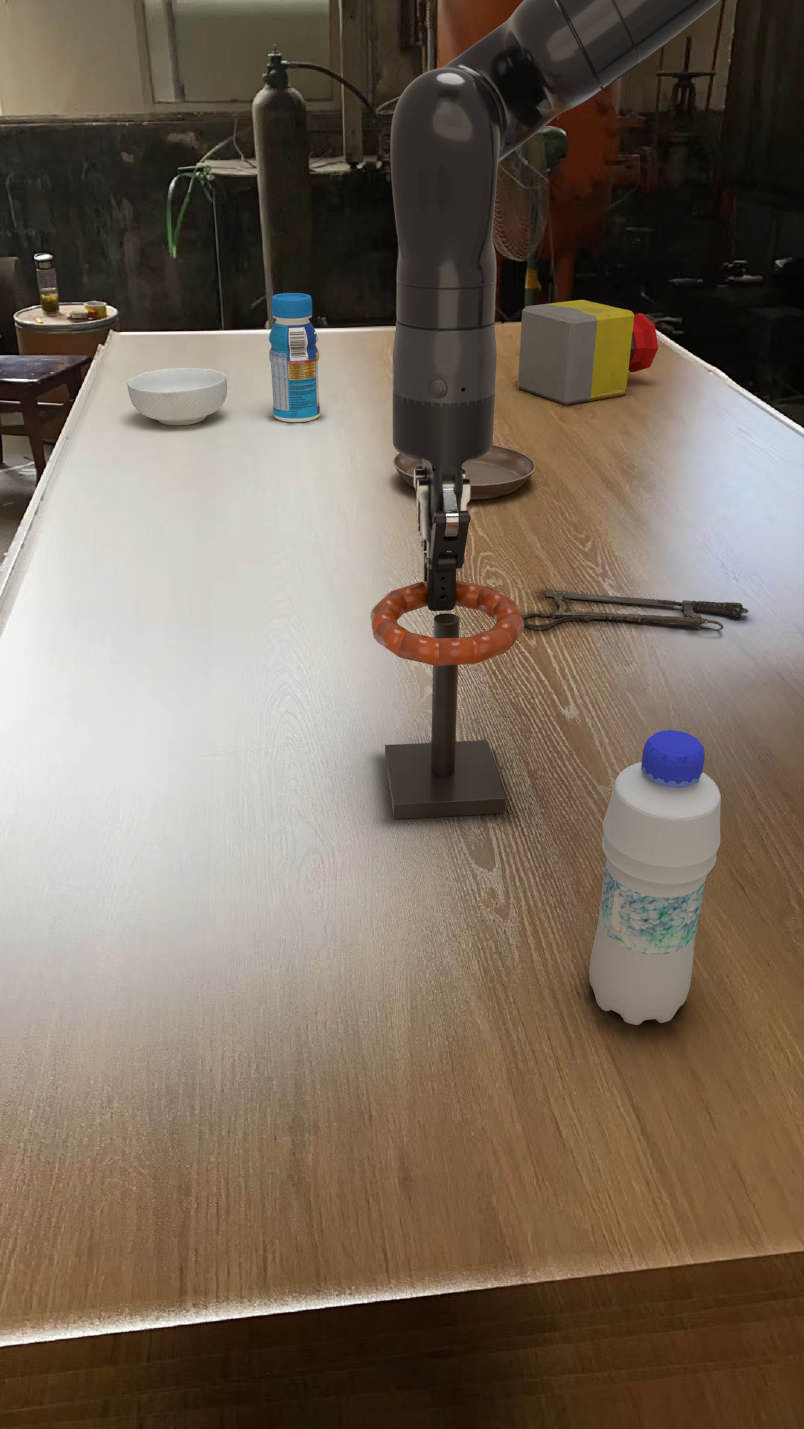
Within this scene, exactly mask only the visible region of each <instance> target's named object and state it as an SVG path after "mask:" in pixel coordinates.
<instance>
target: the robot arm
mask: <svg viewBox="0 0 804 1429" xmlns="http://www.w3.org/2000/svg"><path fill="white" fill-rule="evenodd" d="M719 2H721V0H523V1H522V2H521V3H520V4H519V5H518V6H517V7H516V9H515V10H514V11H513V12H512V14H511V15H510V17H508V19H507V20H506V21H504V22H503V23H502V24H500V25H499V26H498V27H496V28H495V29H493V30H492V31H491V32H489V33H488V34H486V35H485V36H484V37H482V38H481V39H479V40H478V41H476V42H475V43H474V44H473V45H472V46H470V47H469V48H468V49H466V50H465V51H463V52H462V53H460V54H459V55H457V56H456V57H454V58H453V59H452V60H451V61H449V62H447V63H446V64H445V65H443V66H442V67H439V68H434V69H432V70H428V71H426V72H424V73H422V74H420V75H419V76H417V77H416V78H415V79H413V80H412V81H411V82H410V83H409V84H408V85H407V86H406V88H405V89H404V90H403V92H402V93H401V95H400V96H399V98H398V100H397V102H396V105H395V108H394V110H393V114H392V119H391V124H390V125H391V126H390V142H389V143H390V146H389V147H390V149H389V150H390V151H389V153H390V154H389V155H390V173H391V174H390V176H391V178H390V179H391V189H392V202H393V210H394V212H393V213H394V220H395V229H396V235H397V257H396V258H397V260H396V272H395V275H396V276H395V280H396V282H395V320H396V321H395V331H394V340H393V347H392V445H393V448H394V449H395V450H396V451H397V452H398V454H399V453H401V454H402V455H405V456H407V457H410V458H413V459H417V460H419V459H422V462H418V463H417V467H416V469H414V487H415V488H414V491H415V492H416V497H415V498H416V499H415V500H416V503H415V505H416V508H415V517H416V521H417V531H418V532H419V535H420V537H421V540H420V542H419V545H420V548H421V550H422V552H423V579H422V580H423V581H422V582H426V581H427V605H428V606H427V608H428V610H429V611H431V612H450V611H453V610H454V609H455V607H456V606H455V600H456V580H457V569H463V566H464V564H465V554H466V546H467V540H468V534H469V527H470V523H471V521H472V520H471V515H470V511H469V510H468V503H469V502H470V501H471V500H470V492H471V484H470V478H466V471H465V468H462V464H463V463H464V462H465V461H467V460H469V459H471V458H478V457H481V456H483V455H484V454H486V453H487V452H488V451H489V450H490V449H491V447H492V445H494V444H493V443H494V423H495V422H494V421H495V402H496V381H497V380H496V379H497V342H496V341H497V340H496V323H495V322H496V303H497V302H496V301H497V280H498V279H497V276H498V271H497V270H498V268H497V267H498V266H497V251H496V245H495V242H494V235H493V234H494V224H495V223H494V222H495V211H496V210H495V209H496V197H497V196H496V194H497V180H498V168H499V163H500V162H501V161H503V160H504V159H505V158H506V157H508V156H509V155H510V154H511V153H513V152H514V151H515V150H517V149H518V148H519V147H521V146H522V145H523V144H524V143H526V142H527V141H528V140H529V139H531V138H532V137H533V136H535V135H536V134H537V133H538V132H540V131H541V130H542V129H543V128H544V127H546V126H547V125H548V124H549V123H551V122H552V121H553V120H554V119H555V118H557V117H559V116H560V115H561V114H564V113H566V112H568V111H570V110H572V109H574V108H576V107H578V106H580V105H581V104H584V103H585V102H587V101H588V100H590V99H592V98H593V97H595V96H596V95H598V94H600V93H601V92H602V90H605V89H607V88H608V87H609V86H610V85H612V84H614V83H615V82H616V81H618V80H619V79H621V78H622V77H624V76H625V75H626V74H627V73H628V72H630V71H631V70H633V69H634V68H635V67H637V66H638V65H640V64H641V63H642V62H644V61H646V60H647V59H648V58H649V57H650V56H652V55H654V54H656V52H657V51H659V50H661V49H662V48H663V47H665V45H667V44H669V42H670V41H672V40H673V39H675V38H676V37H677V36H678V35H680V34H681V33H682V32H684V31H685V30H686V29H687V28H688V27H690V26H691V25H692V24H694V23H695V22H696V21H697V20H699V18H701V17H702V16H703V15H704V14H706V13H707V12H708V11H709V10H710V9H712V8H713V7H714V6H716V5H717V4H718V3H719Z"/></svg>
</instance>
